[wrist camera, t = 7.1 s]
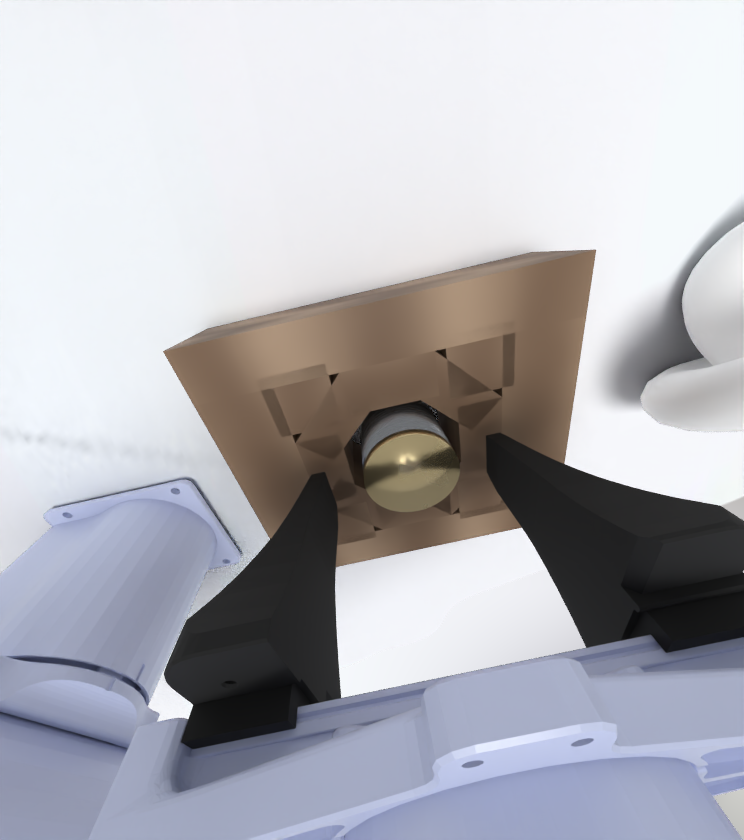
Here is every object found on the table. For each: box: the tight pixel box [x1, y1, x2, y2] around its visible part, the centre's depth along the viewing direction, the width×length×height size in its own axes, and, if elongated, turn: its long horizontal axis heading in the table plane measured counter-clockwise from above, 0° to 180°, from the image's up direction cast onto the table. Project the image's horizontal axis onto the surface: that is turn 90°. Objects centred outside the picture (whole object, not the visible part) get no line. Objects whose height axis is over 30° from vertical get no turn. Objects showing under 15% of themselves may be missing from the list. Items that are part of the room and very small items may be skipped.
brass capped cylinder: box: [359, 400, 460, 512], centre depth 15 cm, size 4×4×6 cm
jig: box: [163, 250, 596, 567], centre depth 16 cm, size 16×14×4 cm
